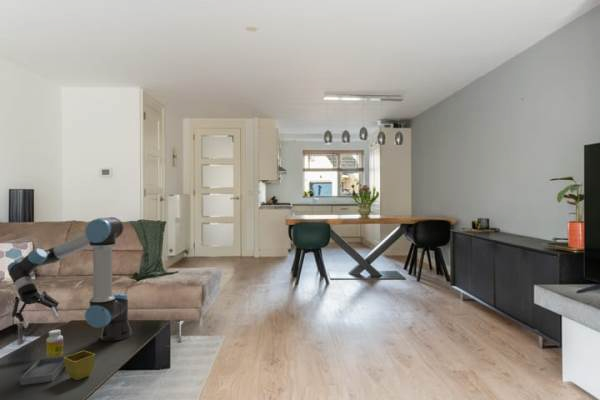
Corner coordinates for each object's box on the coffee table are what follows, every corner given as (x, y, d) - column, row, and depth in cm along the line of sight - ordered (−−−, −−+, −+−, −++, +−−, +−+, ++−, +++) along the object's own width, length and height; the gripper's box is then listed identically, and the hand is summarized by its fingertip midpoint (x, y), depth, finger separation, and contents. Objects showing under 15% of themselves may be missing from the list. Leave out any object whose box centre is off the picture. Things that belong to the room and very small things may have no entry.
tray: (68, 361, 180) (68, 355, 180) (52, 381, 160) (52, 374, 160) (39, 364, 177) (39, 358, 177) (20, 385, 157) (20, 378, 157)
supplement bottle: (55, 362, 180) (54, 334, 180) (43, 361, 181) (42, 333, 181) (66, 356, 186) (66, 329, 186) (54, 355, 188) (54, 328, 188)
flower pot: (74, 384, 158) (74, 361, 158) (63, 379, 162) (63, 357, 162) (96, 375, 165) (95, 354, 165) (84, 370, 170) (84, 350, 170)
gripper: (49, 287, 209) (65, 319, 201) (-6, 298, 187) (10, 334, 180) (54, 278, 206) (71, 310, 198) (-1, 288, 184) (15, 325, 177)
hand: (42, 322), depth 189 cm, fingers open, 13 cm apart
